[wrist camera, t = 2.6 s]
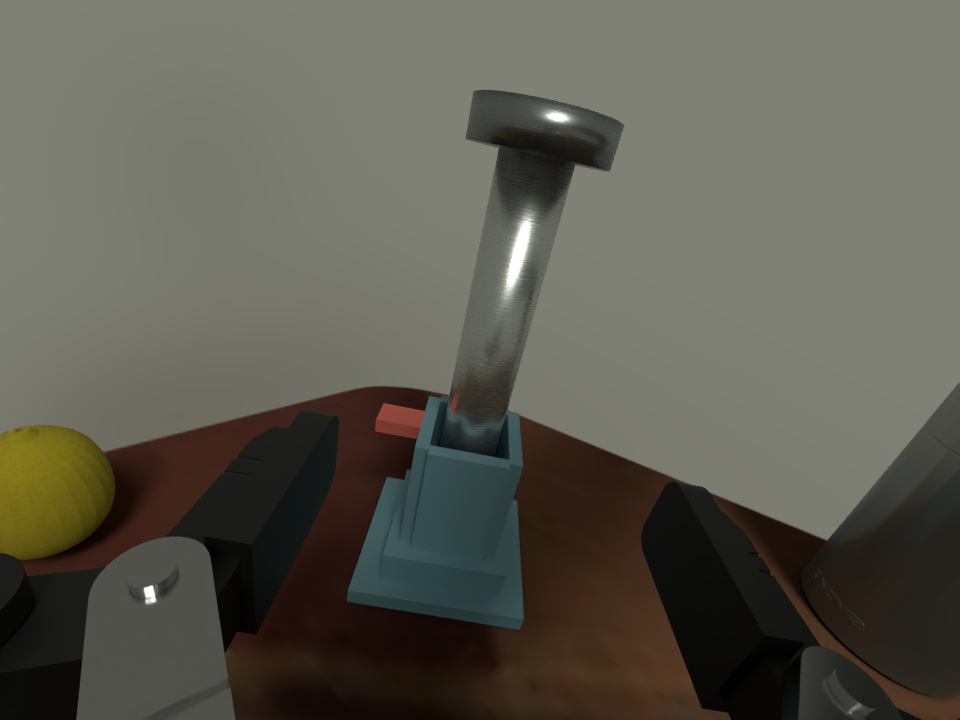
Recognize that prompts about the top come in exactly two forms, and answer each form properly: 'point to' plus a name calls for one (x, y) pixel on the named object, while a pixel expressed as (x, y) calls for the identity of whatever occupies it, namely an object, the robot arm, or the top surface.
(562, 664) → the top surface
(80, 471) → the lemon
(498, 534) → the stand base
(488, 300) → the column
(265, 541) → the robot arm
